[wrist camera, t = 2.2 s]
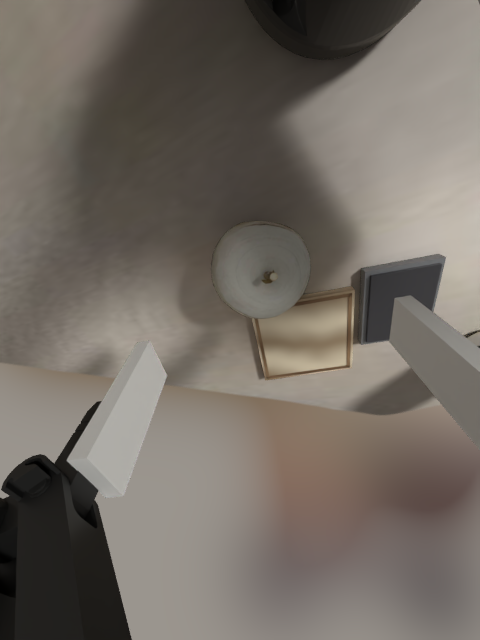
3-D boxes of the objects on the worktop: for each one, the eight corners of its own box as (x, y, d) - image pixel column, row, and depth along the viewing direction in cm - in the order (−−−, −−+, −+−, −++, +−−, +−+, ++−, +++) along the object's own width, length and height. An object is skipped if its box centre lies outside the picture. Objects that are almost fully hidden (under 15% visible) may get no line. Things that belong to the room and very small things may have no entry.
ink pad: (361, 268, 28) (366, 273, 26) (438, 253, 27) (448, 258, 25) (357, 339, 33) (362, 346, 31) (422, 329, 32) (430, 336, 30)
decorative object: (220, 291, 29) (211, 343, 21) (212, 211, 25) (195, 236, 16) (296, 288, 29) (317, 339, 21) (301, 206, 24) (332, 228, 16)
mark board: (249, 304, 30) (249, 308, 29) (351, 286, 29) (355, 290, 28) (264, 375, 36) (265, 380, 35) (349, 363, 35) (352, 368, 34)
